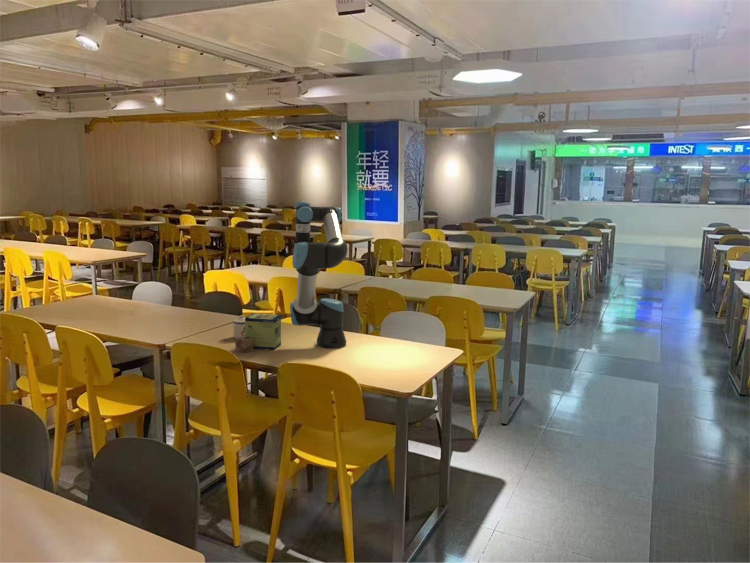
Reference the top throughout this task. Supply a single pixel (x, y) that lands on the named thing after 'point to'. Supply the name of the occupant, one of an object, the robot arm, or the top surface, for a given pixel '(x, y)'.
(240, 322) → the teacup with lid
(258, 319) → the protein box
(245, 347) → the numbered walnut block
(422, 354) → the top surface
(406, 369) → the top surface
